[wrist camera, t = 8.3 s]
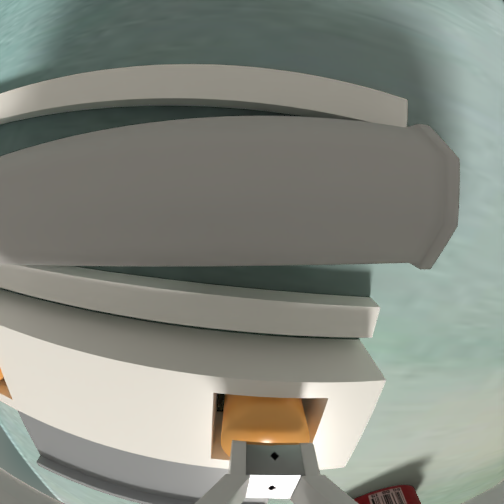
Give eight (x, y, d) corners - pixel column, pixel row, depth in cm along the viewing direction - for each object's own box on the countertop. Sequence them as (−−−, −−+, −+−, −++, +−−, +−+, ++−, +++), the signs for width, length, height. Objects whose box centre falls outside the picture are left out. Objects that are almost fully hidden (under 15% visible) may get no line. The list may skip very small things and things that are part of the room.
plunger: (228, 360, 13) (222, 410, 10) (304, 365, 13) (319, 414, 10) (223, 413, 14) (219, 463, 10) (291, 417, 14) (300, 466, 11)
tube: (-68, 282, 9) (434, 295, 9) (-98, 200, 6) (476, 143, 6) (-22, 237, 13) (382, 225, 13) (-42, 164, 11) (398, 115, 11)
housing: (-32, 112, 10) (-67, 107, 7) (395, 105, 11) (436, 86, 8) (-16, 353, 14) (-42, 374, 11) (331, 423, 15) (344, 467, 11)
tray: (11, 383, 15) (1, 394, 13) (284, 445, 15) (286, 463, 14) (45, 455, 17) (38, 465, 15) (264, 505, 17) (265, 518, 16)
